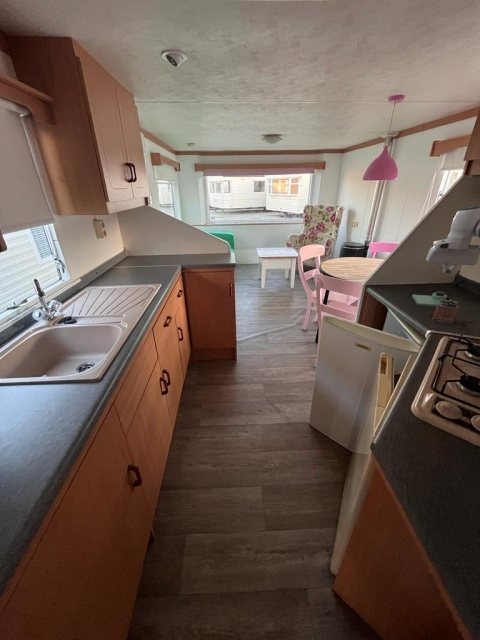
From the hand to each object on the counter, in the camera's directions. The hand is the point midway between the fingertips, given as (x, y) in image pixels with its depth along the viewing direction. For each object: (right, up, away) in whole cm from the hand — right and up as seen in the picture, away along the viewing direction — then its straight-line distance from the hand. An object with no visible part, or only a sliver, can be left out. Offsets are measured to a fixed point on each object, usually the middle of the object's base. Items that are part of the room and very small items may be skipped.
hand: (446, 272), depth 131 cm
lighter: (-12, -24, -13) cm, 30 cm away
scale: (-5, -14, +5) cm, 16 cm away
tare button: (+1, -11, +6) cm, 12 cm away
